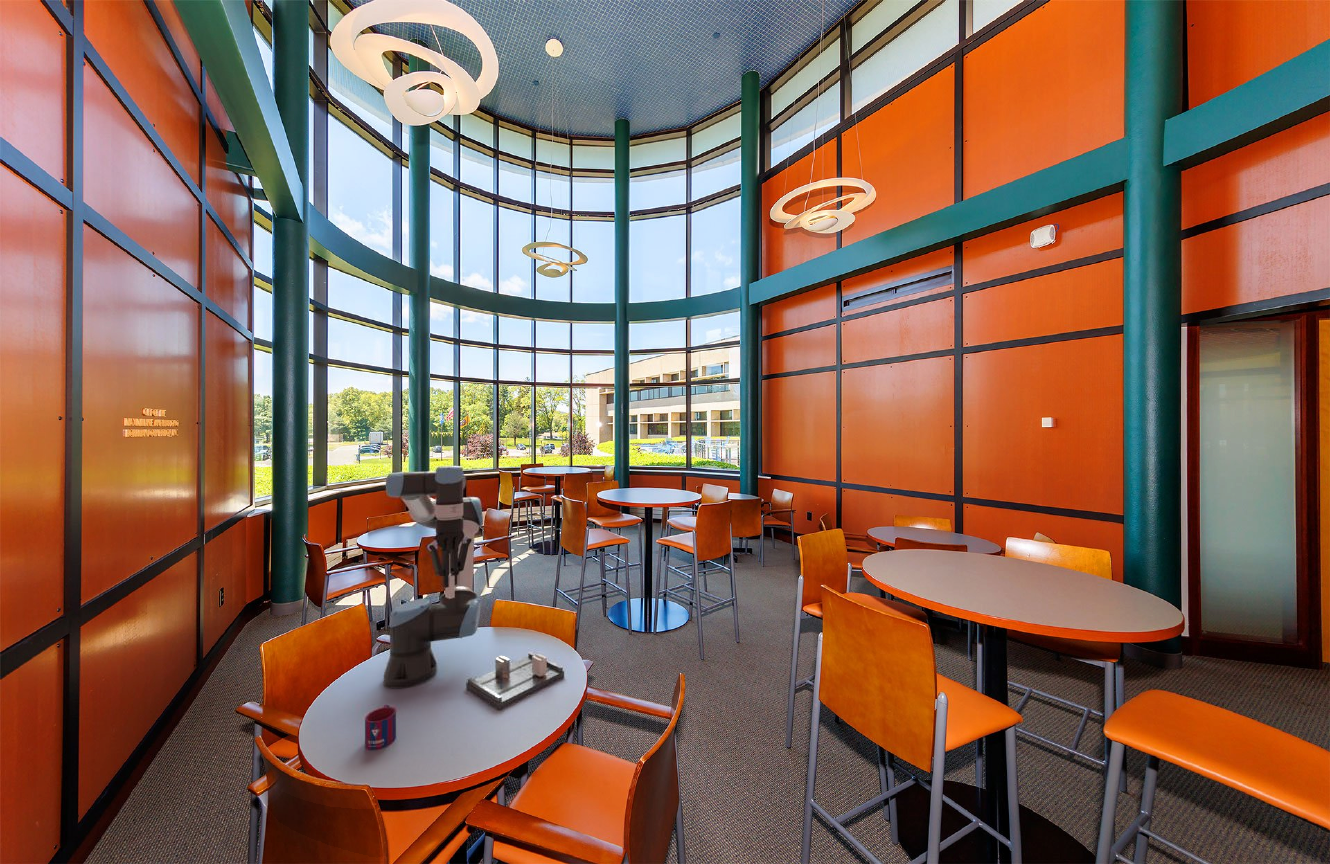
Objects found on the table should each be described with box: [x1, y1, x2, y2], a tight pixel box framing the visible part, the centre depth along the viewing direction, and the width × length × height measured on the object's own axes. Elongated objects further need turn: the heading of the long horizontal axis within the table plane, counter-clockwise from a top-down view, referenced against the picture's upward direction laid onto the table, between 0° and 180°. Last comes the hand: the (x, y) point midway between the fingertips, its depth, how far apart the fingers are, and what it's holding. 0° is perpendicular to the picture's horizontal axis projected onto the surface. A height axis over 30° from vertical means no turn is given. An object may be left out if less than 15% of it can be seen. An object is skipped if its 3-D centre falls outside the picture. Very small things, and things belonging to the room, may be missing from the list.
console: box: [465, 651, 565, 711], centre depth 145 cm, size 18×23×7 cm
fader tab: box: [532, 653, 548, 676], centre depth 146 cm, size 4×2×5 cm, turn 51°
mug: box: [364, 704, 397, 751], centre depth 119 cm, size 7×10×7 cm
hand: (449, 597), depth 138 cm, fingers closed
